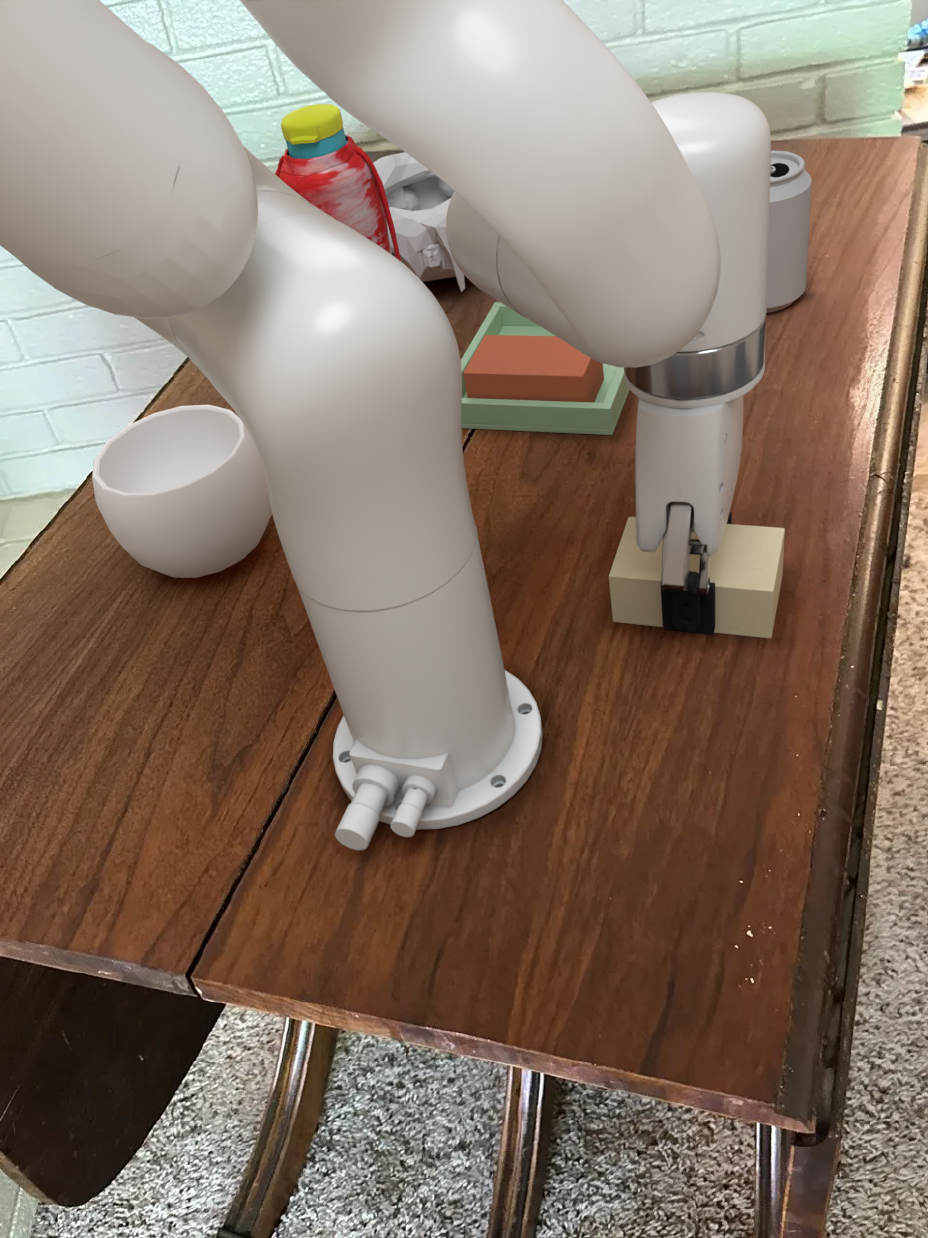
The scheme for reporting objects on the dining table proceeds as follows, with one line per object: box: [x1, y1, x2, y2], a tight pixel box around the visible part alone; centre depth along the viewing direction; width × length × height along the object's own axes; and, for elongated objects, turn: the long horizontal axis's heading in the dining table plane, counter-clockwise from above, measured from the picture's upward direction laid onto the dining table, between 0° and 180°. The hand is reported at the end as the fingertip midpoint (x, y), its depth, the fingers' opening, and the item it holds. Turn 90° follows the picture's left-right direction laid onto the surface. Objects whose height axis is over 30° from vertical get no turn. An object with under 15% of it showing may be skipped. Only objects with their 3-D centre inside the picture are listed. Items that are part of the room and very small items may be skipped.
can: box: [766, 150, 813, 314], centre depth 93 cm, size 8×8×12 cm
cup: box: [91, 404, 273, 579], centre depth 80 cm, size 12×12×10 cm
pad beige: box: [608, 516, 786, 639], centre depth 69 cm, size 6×10×4 cm, turn 72°
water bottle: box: [274, 103, 401, 261], centre depth 86 cm, size 12×8×25 cm, turn 77°
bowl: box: [372, 151, 466, 293], centre depth 109 cm, size 21×20×10 cm
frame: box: [460, 301, 630, 436], centre depth 93 cm, size 17×15×2 cm
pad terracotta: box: [463, 335, 604, 403], centre depth 89 cm, size 6×10×4 cm, turn 72°
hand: (698, 591), depth 70 cm, fingers closed on pad beige, 6 cm apart
